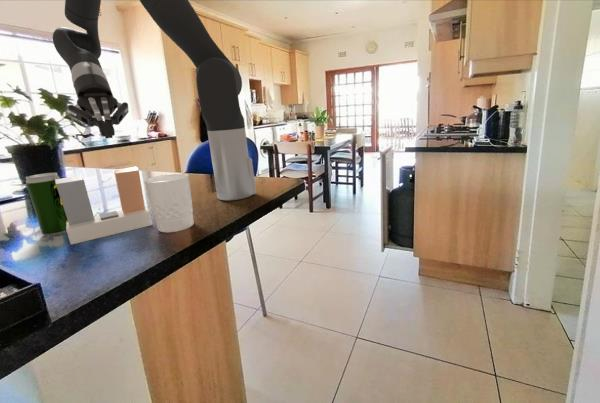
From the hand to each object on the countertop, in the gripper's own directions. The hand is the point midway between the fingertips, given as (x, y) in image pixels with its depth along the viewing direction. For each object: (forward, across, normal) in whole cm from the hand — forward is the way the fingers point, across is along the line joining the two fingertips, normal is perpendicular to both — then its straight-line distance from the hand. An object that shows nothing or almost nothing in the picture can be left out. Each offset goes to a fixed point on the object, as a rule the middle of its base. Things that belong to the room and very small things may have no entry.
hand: (108, 135), depth 72 cm
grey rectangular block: (+21, -9, 0) cm, 23 cm away
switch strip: (+23, -5, +2) cm, 24 cm away
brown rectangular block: (+21, 0, 0) cm, 21 cm away
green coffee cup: (+18, -14, +8) cm, 24 cm away
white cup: (+29, +6, -3) cm, 30 cm away
